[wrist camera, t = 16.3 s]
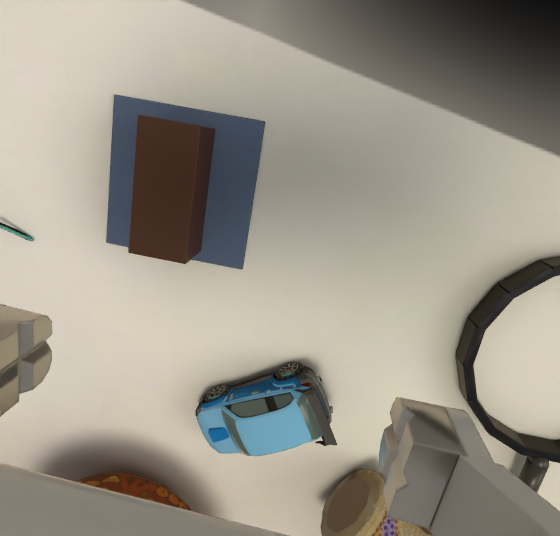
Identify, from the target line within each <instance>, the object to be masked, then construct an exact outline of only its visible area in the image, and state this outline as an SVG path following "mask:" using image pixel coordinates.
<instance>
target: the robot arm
mask: <svg viewBox="0 0 560 536" xmlns="http://www.w3.org/2000/svg"><path fill="white" fill-rule="evenodd" d="M51 335H52V321H51V320H50V318H49V317H48V316H46V315H42V314H38V313H34V312H30V311H26V310H22V309H18V308H14V307H10V306H6V305H3V304H0V416H2V415H3V414H4V413H5V412H6V411H8V410H9V409H10V408H11V407H13V406H14V405H15V404H16V403H17V402H19V394H20V393H24V392H27V391H30V390H33V389H34V388H35V387H37V386H38V385H39V384H40V383H41V382H42V381H43V379H44V378H45V376H46V374H47V373H48V371H49V368H50V364H51V361H52V350H51V349H50V347H49V345H48V344H47V342H46V340H47V339H48V338H49V337H50V336H51ZM390 415H391V420H392V424H391V425H390V426H388V427H387V428H386V429H384V433H383V436H382V440H381V445H380V452H379V466H380V473H381V474H382V476H383V477H384V478H385V479H386V483H385V486H384V489H383V493H384V499H385V505H386V511H387V517H389V518H392V519H396V520H400V521H403V522H407V523H411V524H414V525H418V526H421V527H425V528H429V529H430V532H431V534H432V535H433V536H560V511H559V510H557V509H556V508H555V507H554V506H552V505H551V504H550V503H549V502H547V501H546V500H545V499H544V498H542V497H541V496H540V495H539V494H537V493H536V492H535V491H534V490H532V489H531V488H530V487H529V486H528V485H526V484H525V483H524V482H523V481H521V480H520V479H519V478H518V477H516V476H515V475H514V474H513V473H511V472H510V471H509V470H508V469H506V468H505V467H504V466H503V465H500V464H496V463H494V461H493V459H492V457H491V455H490V453H489V452H488V450H487V448H486V446H485V444H484V442H483V440H482V438H481V436H480V434H479V432H478V430H477V429H476V427H475V425H474V423H473V421H472V419H471V417H470V415H469V414H468V413H467V412H466V411H464V410H459V409H454V408H449V407H444V406H439V405H434V404H429V403H424V402H419V401H414V400H409V399H404V398H399V397H396V399H395V401H394V402H393V405H392V408H391V411H390ZM0 536H288V535H284V534H280V533H276V532H272V531H268V530H264V529H261V528H257V527H253V526H249V525H245V524H241V523H237V522H233V521H229V520H225V519H221V518H217V517H213V516H209V515H205V514H201V513H197V512H193V511H189V510H185V509H181V508H177V507H173V506H169V505H165V504H161V503H157V502H153V501H149V500H145V499H142V498H138V497H134V496H130V495H126V494H122V493H118V492H114V491H110V490H106V489H102V488H98V487H94V486H90V485H86V484H82V483H78V482H74V481H70V480H66V479H62V478H59V477H55V476H51V475H47V474H43V473H39V472H35V471H31V470H27V469H23V468H19V467H15V466H11V465H7V464H3V463H0Z"/></svg>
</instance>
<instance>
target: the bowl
mask: <svg viewBox="0 0 560 536" xmlns="http://www.w3.org/2000/svg"><path fill="white" fill-rule="evenodd" d="M77 482H78V483H82V484H86V485H90V486H94V487H98V488H102V489H106V490H110V491H114V492H118V493H122V494H126V495H130V496H134V497H138V498H142V499H145V500H149V501H153V502H157V503H161V504H165V505H169V506H173V507H177V508H181V509H185V510H189V511H191V510H190V508H189V507H188V506H187V505H186V504H185V503H184V502H183V501H182V500H181V499H180V498H179V497H178V496H177V495H175V494H174V493H172V492H171V491H169V490H168V489H166V488H165V487H164V486H161V485H159V484H157V483H155V482H152V481H150V480H148V479H146V478H143V477H139V476H135V475H131V474H124V473H102V474H97V475H92V476H89V477H86V478H83V479H80V480H79V481H77Z"/></svg>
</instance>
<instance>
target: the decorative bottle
mask: <svg viewBox="0 0 560 536" xmlns="http://www.w3.org/2000/svg"><path fill="white" fill-rule="evenodd" d="M384 486H385V481H384V479H383V478H382V477H380V476H379V475H378V474H377V473H376V472H375V471H372V470H359V471H356V472H354V473H352V474H350V475H349V476H348V477H346V478H345V479H344V480H343V481H342V482H340V483H339V484H338V485H337V487H336V488H335V489H334V491H333V492H332V494H331V495H330V497H329V499H328V500H327V502H326V504H325V506H324V509H323V515H322V522H321V532H322V536H433V535H432V534H431V532H430V529H429V528H425V527H421V526H418V525H414V524H411V523H407V522H403V521H400V520H396V519H392V518H389V517H387V511H386V505H385V499H384V493H383V489H384Z"/></svg>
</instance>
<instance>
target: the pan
mask: <svg viewBox="0 0 560 536" xmlns="http://www.w3.org/2000/svg"><path fill="white" fill-rule="evenodd" d="M559 275H560V256H559V257H554V258H548V259H542V260H540V261H536V262H534V263H532V264H531V265H529V266H527V267H525V268H523V269H522V270H520V271H518V272H516V273H514V274H513V275H511V276H509V277H507V278H505V279H504V280H502V281H500V282H498V285H497V284H496V285H495V286H494V287H493V288H492V289H491V291H490V292H489V293H488V294H487V295H486V296H485V297H484V299H483V300H482V301H481V302H480V303H479V304H478V306H477V307H476V308H475V309H474V310H473V311H472V312H471V314H470V315H469V317H470V318H469V317H468V318H467V321H466V324H465V327H464V330H463V333H462V336H461V339H460V342H459V345H458V348H457V351H456V360H457V368H458V376H459V384H460V389H461V392H462V394H463V395H464V397H465V399H466V401H467V402H468V404H469V406H470V407H471V409H472V410H473V412H474V413H475V415H476V416H477V418H478V419H479V421H480V422H481V424H482V425H483V427H484V428H485V430H486V431H487V432H488V433H489V434H490V435H491V436H493V437H494V438H496V439H498V440H499V441H501V442H502V443H504V444H505V445H507V446H509V447H510V448H512V449H513V450H515V451H516V452H518V453H519V454H522V455H525V456H528V457H527V459H526V461H525V464H524V466H523V468H522V471H521V473H520V476H519V479H520V480H521V481H523V482H524V483H525V484H526V485H528V486H529V487H530V488H531V489H532V490H534V491H535V492H536V493H537V492H538V490H539V487H540V485H541V483H542V481H543V478H544V476H545V474H546V472H547V469H548V467H549V461H553V462H558V463H560V440H548V439H543V438H539V437H534V436H529V435H524V434H520V433H516V432H515V431H513V430H511V429H510V428H508V427H507V426H505V425H504V424H502V423H500V422H499V421H497V420H496V419H494V418H493V417H491V416H490V415H488V414H487V413H486V411H485V410H484V408H483V407H482V405H481V404H480V402H479V401H478V399H477V394H476V385H475V376H474V368H473V364H474V361H475V358H476V356H477V353H478V350H479V347H480V344H481V341H482V338H483V335H484V333H485V330H486V329H487V328H488V327H489V325H490V324H491V323H492V322H493V321H494V320H495V319H496V318H497V316H498V315H499V314H500V313H501V312H502V311H503V310H504V309H505V307H506V306H507V305H508V304H509V303H510V302H511V301H512V300H513V299H514V298H515V297H517V296H519V295H521V294H522V293H524V292H526V291H528V290H530V289H532V288H533V287H535V286H537V285H539V284H541V283H543V282H545V281H546V280H548V279H550V278H552V277H554V276H559Z"/></svg>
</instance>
